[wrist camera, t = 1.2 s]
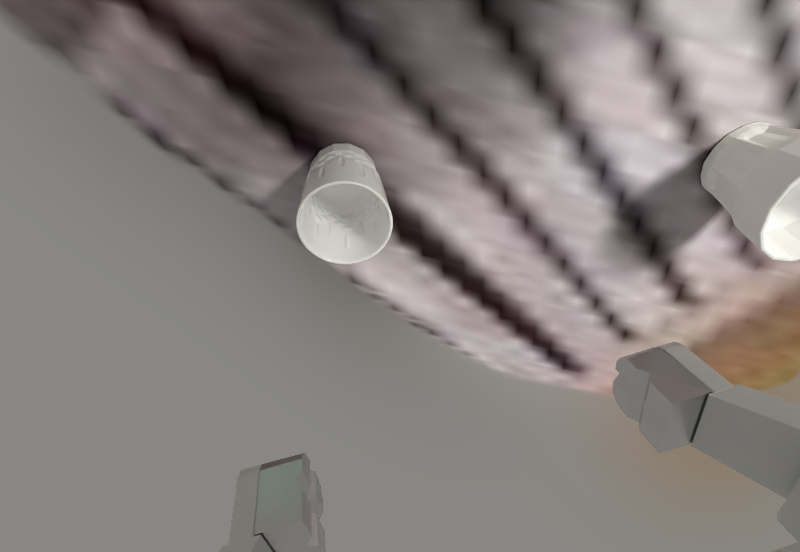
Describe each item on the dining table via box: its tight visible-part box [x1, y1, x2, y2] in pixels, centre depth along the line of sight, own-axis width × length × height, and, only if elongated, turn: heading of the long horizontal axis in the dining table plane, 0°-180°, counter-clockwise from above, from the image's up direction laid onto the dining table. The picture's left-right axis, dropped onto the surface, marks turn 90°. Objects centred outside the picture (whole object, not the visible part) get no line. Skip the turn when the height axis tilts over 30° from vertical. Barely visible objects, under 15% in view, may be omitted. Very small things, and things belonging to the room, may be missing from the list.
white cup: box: [296, 143, 393, 264], centre depth 38 cm, size 8×8×10 cm
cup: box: [701, 122, 800, 261], centre depth 42 cm, size 12×12×11 cm
